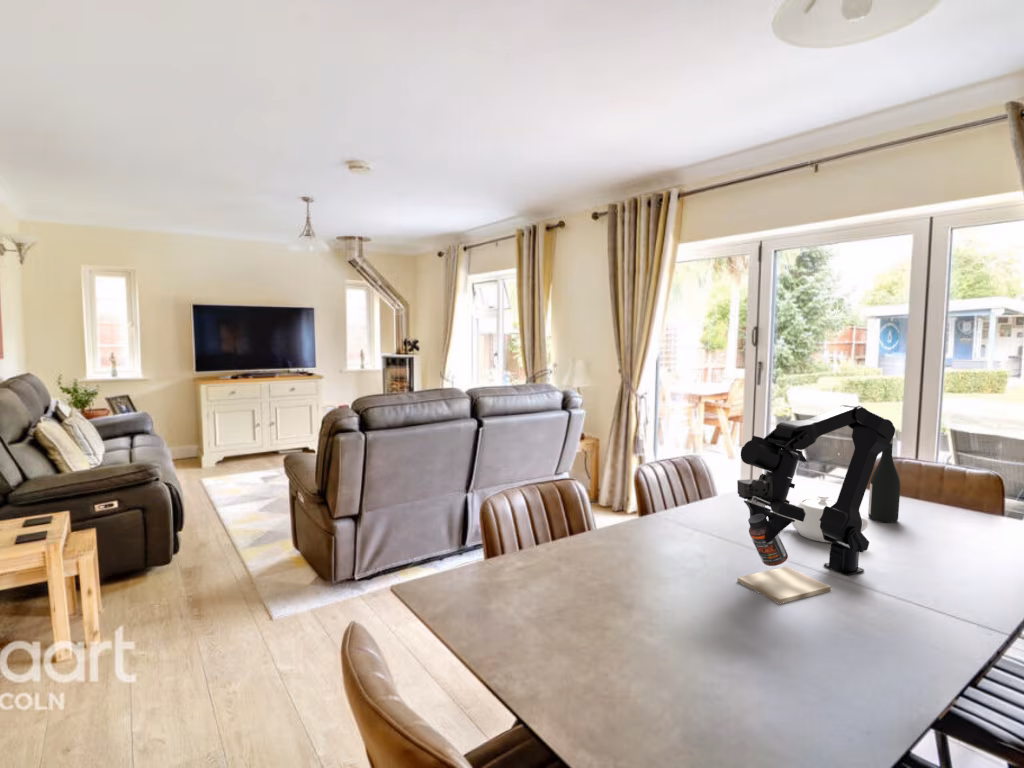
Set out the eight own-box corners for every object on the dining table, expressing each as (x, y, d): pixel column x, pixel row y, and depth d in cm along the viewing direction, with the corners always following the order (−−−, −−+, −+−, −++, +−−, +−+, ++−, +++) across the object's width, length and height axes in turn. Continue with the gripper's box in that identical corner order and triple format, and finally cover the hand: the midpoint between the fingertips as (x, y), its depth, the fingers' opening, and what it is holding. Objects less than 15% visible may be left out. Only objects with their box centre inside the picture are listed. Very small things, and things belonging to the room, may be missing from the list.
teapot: (875, 542, 157) (878, 499, 156) (855, 555, 147) (858, 510, 146) (785, 519, 176) (787, 482, 175) (763, 529, 166) (765, 490, 165)
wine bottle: (862, 517, 178) (867, 425, 175) (877, 514, 181) (883, 423, 179) (888, 525, 171) (894, 429, 168) (903, 521, 174) (910, 427, 172)
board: (786, 570, 138) (786, 566, 138) (830, 590, 127) (830, 586, 127) (737, 581, 132) (737, 577, 131) (779, 603, 121) (779, 599, 120)
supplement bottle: (762, 569, 129) (742, 527, 129) (763, 555, 135) (743, 515, 134) (789, 564, 126) (768, 520, 126) (788, 550, 132) (768, 508, 131)
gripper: (729, 458, 139) (710, 517, 139) (770, 471, 120) (748, 539, 120) (769, 471, 140) (751, 530, 140) (816, 486, 121) (794, 554, 121)
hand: (759, 537), depth 130 cm, fingers closed on supplement bottle, 6 cm apart
